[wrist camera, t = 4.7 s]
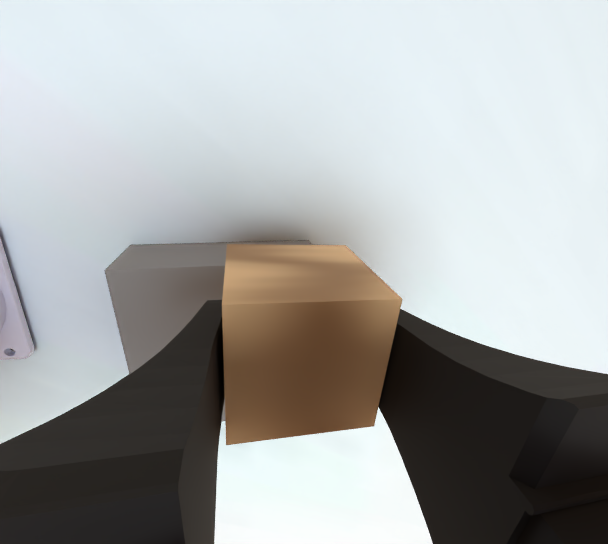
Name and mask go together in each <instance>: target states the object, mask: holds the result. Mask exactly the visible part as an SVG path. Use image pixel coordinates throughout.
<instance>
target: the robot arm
mask: <svg viewBox="0 0 608 544" xmlns="http://www.w3.org/2000/svg"><path fill="white" fill-rule="evenodd" d="M10 349H13V350H14V351H15V352H13V351H11V350H10ZM33 352H34V345H33V342H32V338H31V335H30V332H29V329H28V326H27V322H26V319H25V316H24V313H23V309H22V306H21V303H20V300H19V296H18V293H17V290H16V287H15V284H14V280H13V277H12V274H11V271H10V267H9V264H8V261H7V258H6V254H5V251H4V248H3V245H2V241H1V238H0V360H4V359H23V358H27V357H29V356H30V355H31V354H32V353H33ZM224 399H225V389H224V357H223V326H222V300H207V301H206V302H205V303H204V304H203V306H202V307H201V308H200V310H199V311H198V312H197V313H196V314H195V316H194V317H193V318H192V319H191V320H190V321H189V323H188V324H187V325H186V326H185V327H184V328H183V329H182V330H181V331H180V332H179V333H178V334H177V335H176V336H175V337H174V338H173V339H172V340H171V341H170V342H169V343H168V344H167V345H166V346H165V347H164V348H163V349H162V350H161V351H160V352H158V353H157V354H156V355H155V356H154V357H152V358H151V359H150V360H148V361H147V362H146V363H145V364H143V365H142V366H141V367H139V368H138V369H137V370H135V371H134V372H132V373H131V374H129V375H128V376H126V377H125V378H123V379H122V380H120V381H118V382H117V383H115V384H114V385H112V386H111V387H109V388H108V389H106V390H105V391H103V392H101V393H100V394H98V395H96V396H95V397H93V398H91V399H89V400H88V401H86V402H84V403H82V404H80V405H79V406H77V407H75V408H73V409H71V410H69V411H68V412H66V413H64V414H62V415H60V416H58V417H56V418H54V419H52V420H50V421H48V422H46V423H44V424H42V425H40V426H38V427H36V428H33V429H31V430H29V431H27V432H25V433H23V434H21V435H19V436H17V437H14V438H12V439H10V440H8V441H6V442H4V443H2V444H0V544H214V531H215V505H216V480H217V456H218V444H219V435H220V428H221V421H222V413H223V406H224ZM378 407H379V409H380V411H381V413H382V414H383V416H384V418H385V420H386V422H387V424H388V426H389V428H390V431H391V433H392V435H393V438H394V440H395V442H396V445H397V447H398V450H399V452H400V455H401V457H402V459H403V462H404V465H405V467H406V470H407V472H408V475H409V478H410V480H411V483H412V485H413V488H414V490H415V493H416V496H417V499H418V502H419V504H420V507H421V510H422V513H423V516H424V519H425V521H426V524H427V527H428V530H429V533H430V536H431V539H432V542H433V544H608V374H603V373H597V372H592V371H586V370H580V369H575V368H569V367H564V366H560V365H556V364H551V363H547V362H543V361H538V360H534V359H530V358H526V357H522V356H519V355H515V354H512V353H508V352H505V351H502V350H498V349H495V348H492V347H489V346H486V345H483V344H480V343H477V342H474V341H471V340H469V339H466V338H463V337H461V336H458V335H455V334H453V333H451V332H448V331H446V330H444V329H441V328H439V327H437V326H435V325H432V324H430V323H428V322H426V321H424V320H422V319H420V318H418V317H416V316H414V315H412V314H410V313H408V312H406V311H404V310H402V309H400V312H399V316H398V321H397V325H396V329H395V334H394V338H393V343H392V347H391V352H390V356H389V361H388V365H387V370H386V374H385V379H384V383H383V388H382V392H381V397H380V401H379V406H378Z"/></svg>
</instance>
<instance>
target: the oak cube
mask: <svg viewBox="0 0 608 544" xmlns="http://www.w3.org/2000/svg"><path fill="white" fill-rule="evenodd" d="M401 303H402V298H401V297H400V296H398V295H397V294H396V293H395V292H394V291H393V290H392V289H391V288H390V287H389V286H388V285H387V284H386V283H385V282H384V281H383V280H382V279H381V278H379V277H378V276H377V275H376V274H375V273H374V272H373V271H372V270H371V269H370V268H369V267H368V266H367V265H366V264H365V263H364V262H363V261H362V260H360V259H359V258H358V257H357V256H356V255H355V254H354V253H353V252H352V251H351V250H350V249H349V248H348V247H347V246H346V245H264V244H227V250H226V262H225V274H224V285H223V297H222V326H223V357H224V389H225V420H226V445H231V444H239V443H246V442H254V441H262V440H270V439H278V438H285V437H293V436H301V435H309V434H317V433H324V432H332V431H340V430H348V429H356V428H363V427H371V426H374V423H375V419H376V415H377V410H378V406H379V401H380V397H381V392H382V388H383V383H384V379H385V374H386V370H387V365H388V361H389V356H390V352H391V347H392V343H393V338H394V334H395V329H396V325H397V321H398V316H399V312H400V307H401Z"/></svg>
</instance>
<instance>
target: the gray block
mask: <svg viewBox="0 0 608 544" xmlns="http://www.w3.org/2000/svg"><path fill="white" fill-rule="evenodd" d="M227 244H264V245H311V243H310V242H309V240H297V241H259V242H220V243H182V244H144V245H130V246H129V247H128V248H127V249H126V250H125V251H124V252H123V253H122V254H121V255H120V256H119V257H118V258H117V259H116V260H115V261H114V262H113V263H112V264H111V265H110V266H109V267H108V268H107V269H106V270H105V274H106V279H107V283H108V287H109V291H110V295H111V299H112V303H113V307H114V312H115V316H116V320H117V324H118V328H119V332H120V336H121V341H122V345H123V349H124V353H125V357H126V361H127V365H128V370H129V374H131V373H132V372H134V371H135V370H137V369H138V368H139V367H141V366H142V365H143V364H145V363H146V362H147V361H148V360H150V359H151V358H152V357H154V356H155V355H156V354H157V353H158V352H160V351H161V350H162V349H163V348H164V347H165V346H166V345H167V344H168V343H169V342H170V341H171V340H172V339H173V338H174V337H175V336H176V335H177V334H178V333H179V332H180V331H181V330H182V329H183V328H184V327H185V326H186V325H187V324H188V323H189V321H190V320H191V319H192V318H193V317H194V316H195V314H196V313H197V312H198V311H199V310H200V308H201V307H202V306H203V304H204V303H205V302H206V301H207V300H222V297H223V285H224V274H225V262H226V250H227ZM222 421H226V420H225V399H224V406H223V413H222Z"/></svg>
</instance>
